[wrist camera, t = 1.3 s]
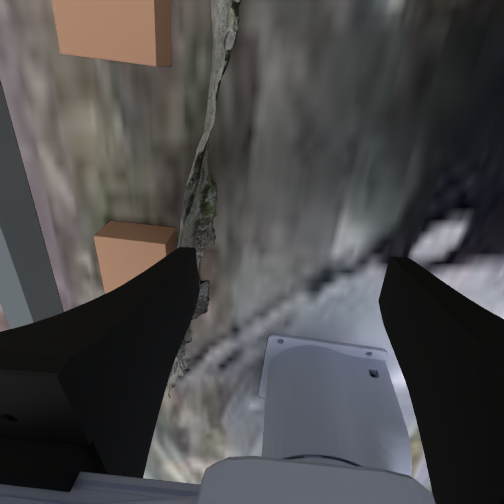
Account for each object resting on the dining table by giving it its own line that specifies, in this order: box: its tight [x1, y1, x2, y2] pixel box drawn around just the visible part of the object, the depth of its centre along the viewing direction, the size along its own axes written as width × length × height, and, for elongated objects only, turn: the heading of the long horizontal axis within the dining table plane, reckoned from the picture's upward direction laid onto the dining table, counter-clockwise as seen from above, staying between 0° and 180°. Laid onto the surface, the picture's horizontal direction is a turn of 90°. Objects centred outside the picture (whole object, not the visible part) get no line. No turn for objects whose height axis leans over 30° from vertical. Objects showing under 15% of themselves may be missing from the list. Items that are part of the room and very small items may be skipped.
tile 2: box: [94, 220, 177, 293], centre depth 22 cm, size 4×4×2 cm
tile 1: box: [52, 0, 172, 66], centre depth 15 cm, size 4×4×2 cm
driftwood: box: [167, 0, 241, 398], centre depth 17 cm, size 37×2×5 cm, turn 170°
